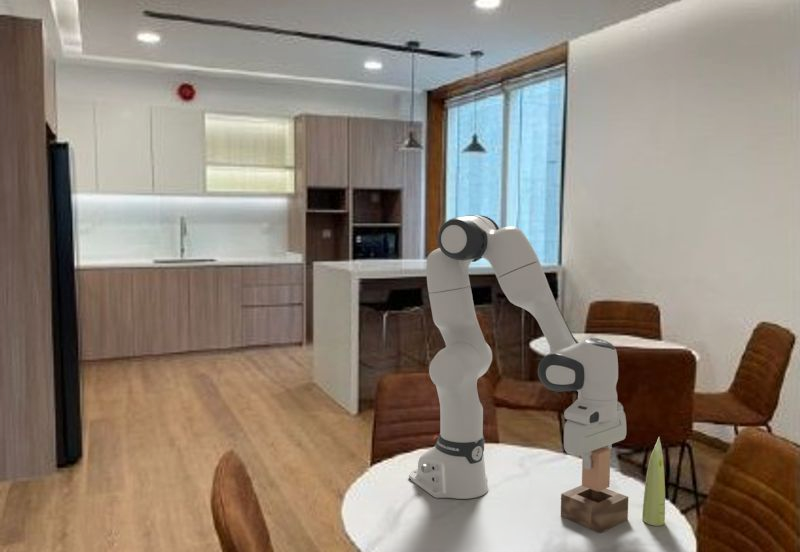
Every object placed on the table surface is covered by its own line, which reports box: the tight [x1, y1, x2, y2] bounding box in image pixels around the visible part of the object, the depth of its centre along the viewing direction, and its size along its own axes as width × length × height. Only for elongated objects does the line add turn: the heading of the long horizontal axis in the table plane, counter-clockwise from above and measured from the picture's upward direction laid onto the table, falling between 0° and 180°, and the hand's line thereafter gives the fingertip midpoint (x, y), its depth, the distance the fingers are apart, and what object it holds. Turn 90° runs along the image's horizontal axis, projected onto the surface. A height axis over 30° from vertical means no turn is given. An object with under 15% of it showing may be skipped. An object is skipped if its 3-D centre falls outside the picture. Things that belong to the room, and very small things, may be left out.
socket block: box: [560, 484, 629, 534], centre depth 156 cm, size 11×11×6 cm
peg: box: [581, 447, 611, 492], centre depth 155 cm, size 4×4×9 cm
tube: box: [641, 437, 666, 527], centre depth 153 cm, size 6×5×20 cm
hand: (595, 465), depth 155 cm, fingers closed on peg, 4 cm apart
